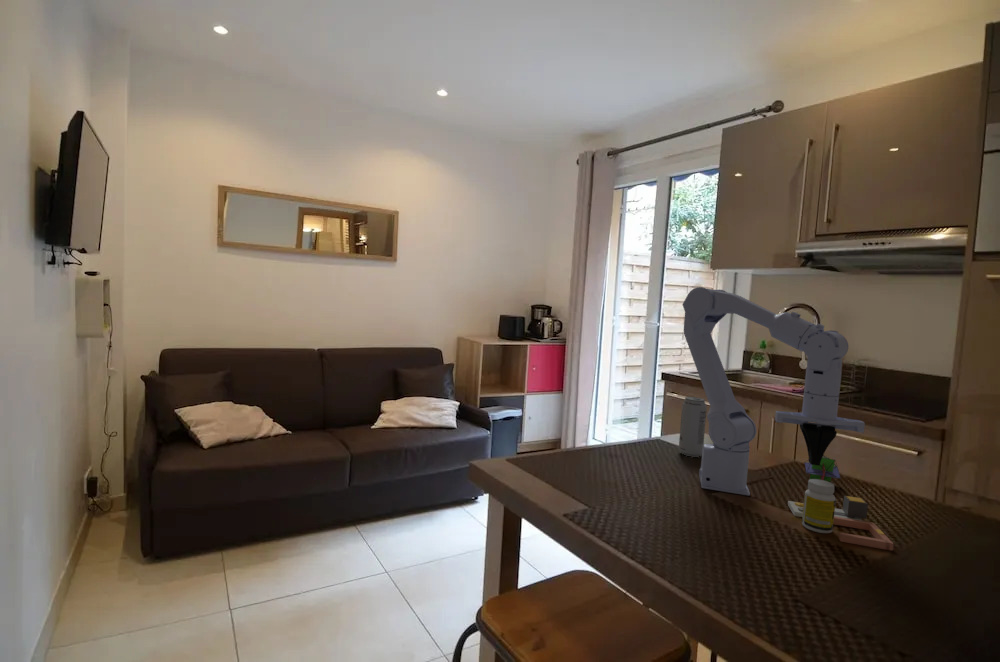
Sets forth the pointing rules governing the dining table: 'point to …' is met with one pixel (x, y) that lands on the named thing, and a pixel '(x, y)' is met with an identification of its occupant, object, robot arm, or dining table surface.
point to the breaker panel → (798, 507)
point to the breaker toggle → (855, 507)
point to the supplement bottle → (819, 506)
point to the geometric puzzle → (823, 470)
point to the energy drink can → (692, 426)
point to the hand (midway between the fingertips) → (814, 463)
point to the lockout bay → (877, 542)
